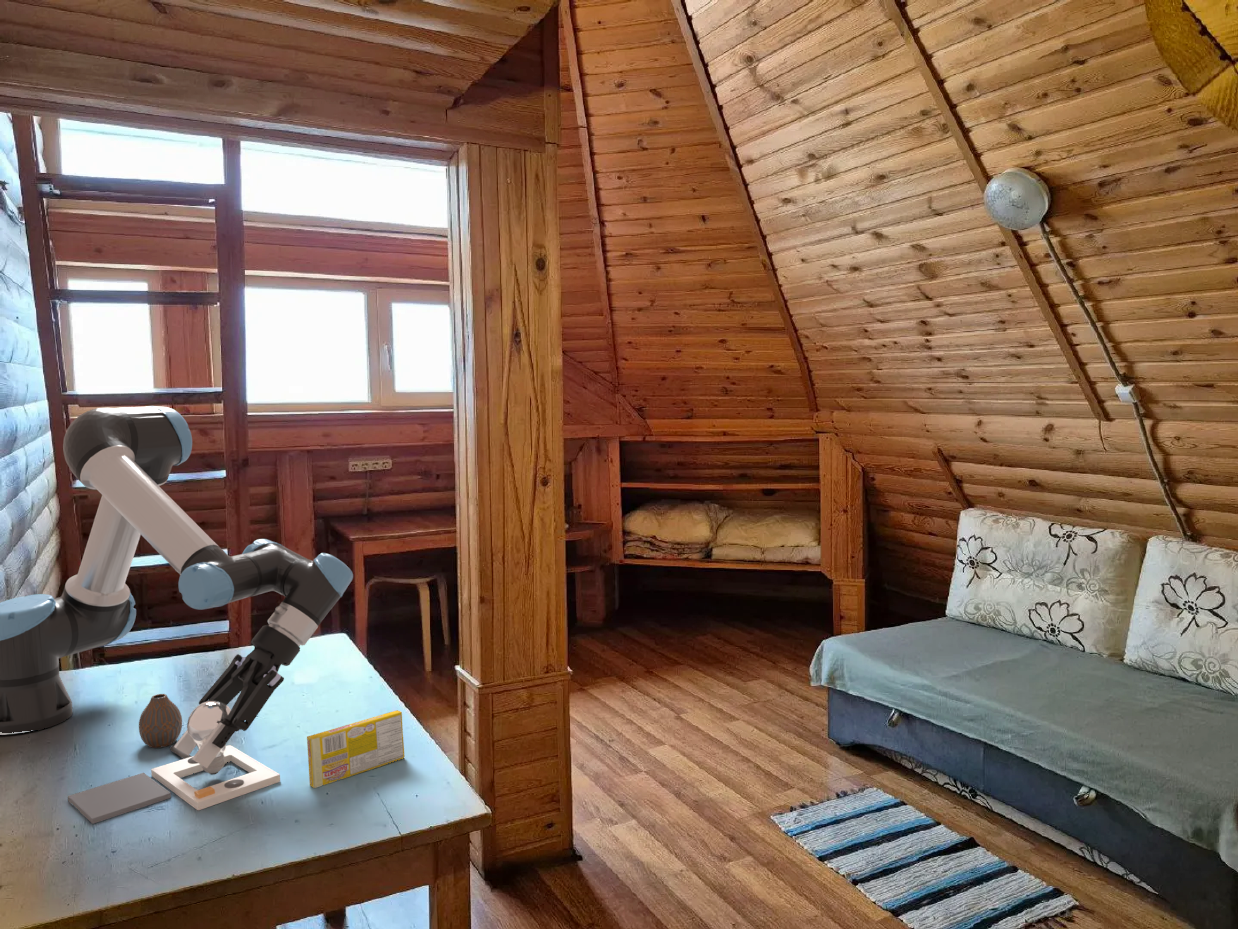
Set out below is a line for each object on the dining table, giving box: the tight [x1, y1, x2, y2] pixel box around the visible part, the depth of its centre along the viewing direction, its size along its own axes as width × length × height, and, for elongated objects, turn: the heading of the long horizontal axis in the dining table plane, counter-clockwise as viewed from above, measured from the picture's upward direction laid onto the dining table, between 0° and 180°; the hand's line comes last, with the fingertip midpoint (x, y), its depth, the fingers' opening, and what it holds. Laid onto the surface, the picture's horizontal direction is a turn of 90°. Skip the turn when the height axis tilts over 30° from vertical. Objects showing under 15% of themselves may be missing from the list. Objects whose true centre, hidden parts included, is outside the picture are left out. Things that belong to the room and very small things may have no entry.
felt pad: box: [67, 772, 172, 825], centre depth 138 cm, size 11×11×1 cm
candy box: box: [306, 710, 406, 789], centre depth 147 cm, size 16×2×8 cm, turn 133°
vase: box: [138, 693, 183, 749], centre depth 159 cm, size 7×7×9 cm
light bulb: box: [186, 701, 232, 776], centre depth 144 cm, size 7×7×12 cm
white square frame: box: [150, 744, 281, 811], centre depth 147 cm, size 26×13×2 cm, turn 48°
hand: (190, 757), depth 142 cm, fingers closed on light bulb, 6 cm apart
